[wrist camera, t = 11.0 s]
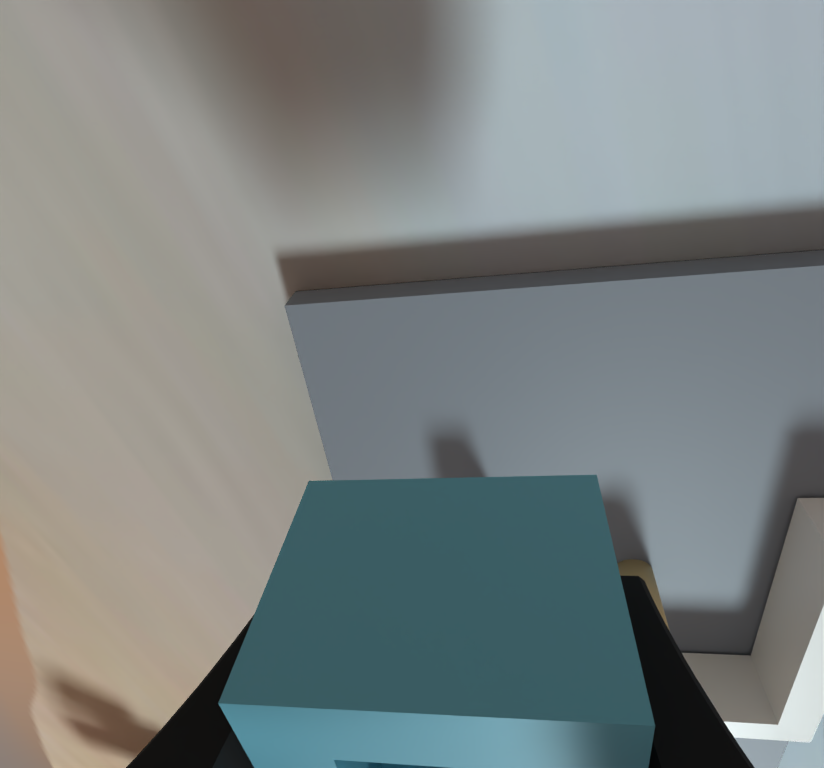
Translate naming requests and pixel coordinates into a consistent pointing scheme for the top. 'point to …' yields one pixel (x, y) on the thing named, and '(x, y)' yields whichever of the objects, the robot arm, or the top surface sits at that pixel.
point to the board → (600, 409)
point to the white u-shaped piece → (779, 646)
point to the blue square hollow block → (443, 632)
